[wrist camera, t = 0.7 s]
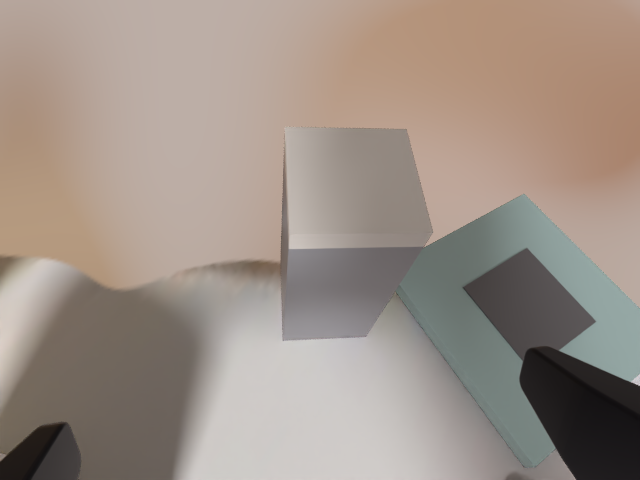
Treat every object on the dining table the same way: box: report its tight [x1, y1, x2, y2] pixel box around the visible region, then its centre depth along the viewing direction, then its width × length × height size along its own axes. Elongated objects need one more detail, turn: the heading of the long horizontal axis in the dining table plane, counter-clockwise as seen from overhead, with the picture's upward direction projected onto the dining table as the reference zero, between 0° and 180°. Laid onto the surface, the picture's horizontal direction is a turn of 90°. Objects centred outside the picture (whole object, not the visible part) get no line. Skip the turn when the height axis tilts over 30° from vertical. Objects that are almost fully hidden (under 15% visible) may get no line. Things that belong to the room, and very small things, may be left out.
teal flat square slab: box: [396, 194, 640, 468], centre depth 26 cm, size 13×13×1 cm
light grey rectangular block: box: [281, 127, 433, 341], centre depth 20 cm, size 5×5×12 cm
